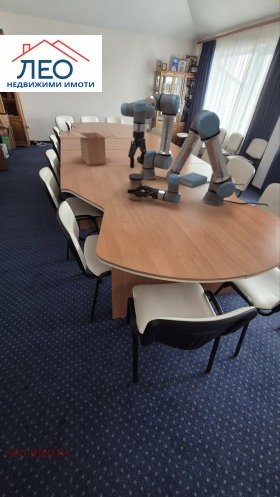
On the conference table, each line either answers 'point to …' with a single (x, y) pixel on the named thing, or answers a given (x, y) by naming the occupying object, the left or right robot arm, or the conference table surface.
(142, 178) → the lid
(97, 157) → the box
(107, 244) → the conference table surface
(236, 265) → the conference table surface
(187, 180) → the book
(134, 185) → the jar
